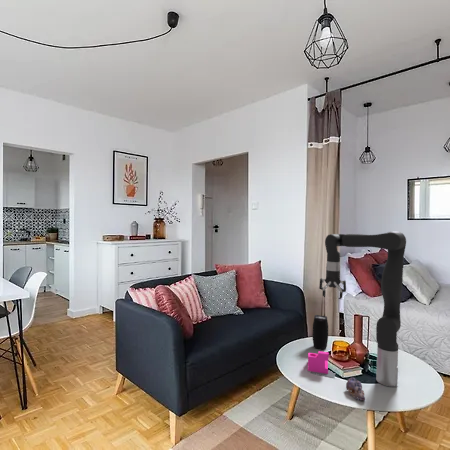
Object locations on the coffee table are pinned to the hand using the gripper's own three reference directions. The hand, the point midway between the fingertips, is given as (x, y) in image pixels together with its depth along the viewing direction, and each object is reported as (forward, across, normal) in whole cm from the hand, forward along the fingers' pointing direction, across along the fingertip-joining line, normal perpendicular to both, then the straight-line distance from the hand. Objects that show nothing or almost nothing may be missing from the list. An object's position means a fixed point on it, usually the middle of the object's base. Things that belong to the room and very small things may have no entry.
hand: (332, 297), depth 180 cm
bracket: (+36, +5, +12) cm, 38 cm away
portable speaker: (+36, +8, -16) cm, 40 cm away
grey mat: (+36, +2, +13) cm, 38 cm away
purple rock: (+36, -15, +32) cm, 50 cm away
